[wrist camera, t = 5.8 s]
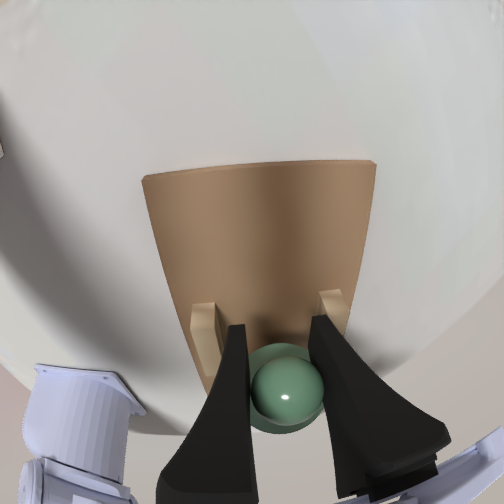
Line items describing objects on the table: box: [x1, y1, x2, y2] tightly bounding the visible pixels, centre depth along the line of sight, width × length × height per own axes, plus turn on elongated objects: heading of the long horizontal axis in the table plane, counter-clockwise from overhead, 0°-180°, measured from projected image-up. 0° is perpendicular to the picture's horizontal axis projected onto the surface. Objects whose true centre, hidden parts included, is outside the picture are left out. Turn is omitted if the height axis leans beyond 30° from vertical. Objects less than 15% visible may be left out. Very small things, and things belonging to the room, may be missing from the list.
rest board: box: [141, 160, 377, 396], centre depth 16 cm, size 10×18×2 cm, turn 3°
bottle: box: [248, 343, 324, 434], centre depth 13 cm, size 4×4×9 cm
